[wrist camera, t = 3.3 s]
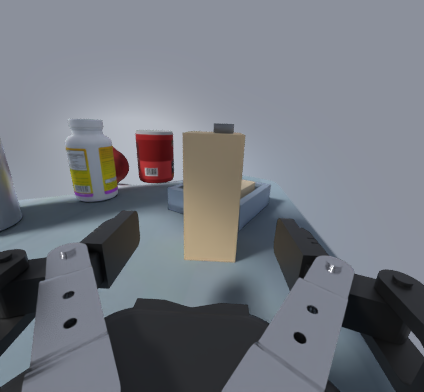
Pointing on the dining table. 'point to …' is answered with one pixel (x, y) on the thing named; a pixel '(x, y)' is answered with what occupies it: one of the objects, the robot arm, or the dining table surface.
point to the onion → (120, 165)
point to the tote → (248, 204)
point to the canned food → (155, 155)
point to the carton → (212, 192)
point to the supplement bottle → (91, 161)
